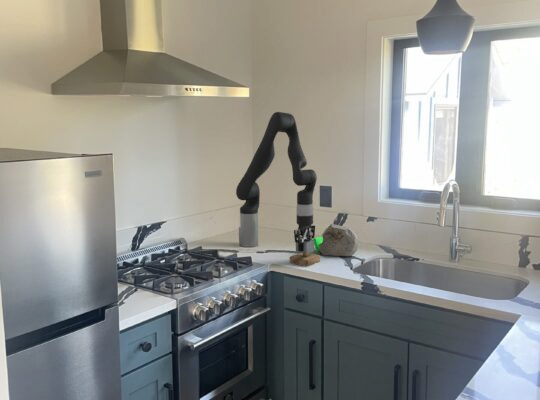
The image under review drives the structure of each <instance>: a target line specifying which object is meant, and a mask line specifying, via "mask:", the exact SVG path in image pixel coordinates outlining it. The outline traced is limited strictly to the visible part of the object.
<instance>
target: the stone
mask: <svg viewBox="0 0 540 400" xmlns="http://www.w3.org/2000/svg"><path fill="white" fill-rule="evenodd" d="M321 237H323V242H322V243H321V244H319V249H320V251H321V252H320V253H321V254H322V255H323V256H333V257H351V256H353V255H355V253H356V252H358V248H359V238H358V236H357V234H356V233H355V231H354V230H353V229H351V228H350V227H347V226H342V225H340V224H334V223H332V224H330V226H328V227H326V229H325V230H324V231H323V233H322V234H321Z"/></svg>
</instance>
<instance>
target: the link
mask: <svg viewBox="0 0 540 400" xmlns="http://www.w3.org/2000/svg"><path fill="white" fill-rule="evenodd" d="M314 251H315V245H314V240H313V239H312V240H310V239H306V238H305V239H304V241H303V251H302V252H301V251H298V243H297V242H295V252H298V253H311V252H314Z"/></svg>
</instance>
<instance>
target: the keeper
mask: <svg viewBox="0 0 540 400" xmlns="http://www.w3.org/2000/svg"><path fill="white" fill-rule="evenodd" d="M320 262H321V255H319V254H315V253H311V252H309V253H301V252H298V253H296V254H293V255H291V256H289V264H293V265H298V266H302V267H307V266H308V267H311V266H313V265H315V263H316V264H317V263H320ZM310 265H311V266H310Z"/></svg>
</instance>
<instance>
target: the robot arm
mask: <svg viewBox="0 0 540 400" xmlns="http://www.w3.org/2000/svg"><path fill="white" fill-rule="evenodd" d="M278 133H285V134H286V135H287V138H288V146H287V157H288V159H289V162H290V165H291V169H292V180H293V182H294V184H295V185H296V186H300V187H303V186H304V189H302V190H299V191H298V192H297V193H296V224H297V225H298V227H297V229H294V230H293V233H294V234H293V235H294V243H296V242H297V243H298V251H301V252H302V251H303V241H304V239H310V240H313V239H314V238H316V237H315V234H316V225H313V224H314V206H313V205H314V204H313V201H314V200H313V196H314V191H315V188H316V184H317V180H318V179H317V178H318V177H317V173H316V171H315V170H313V169H304V168H305V167H306V166H307V165H308V162H307V158H306V156H305V153H304V151H303V148H302V145H301V142H300V137H299V131H298V127H297V122H296V119H295V117H294V116H293V114H291V113H289V112H283V111H282V112H281V111H275V112H274V113H273V114H272V115H271V116H270V118H269V121H268V123H267V126H266V129H265V132H264V135H263V137H262V138H261V139H262V140H261V141H260V143H259V146H258V147H257V149H256V151H255V153H254V155H253V157H252V159H251V161H250V164H249V165H248V167H247V169H246V171H245V173H244V174H243V177H242V178H241V179H240V181H239V182H238V184H237V187H236V188H235V189H236V191H235V195H236V198H238V200H240V201H244V204H242V205H241V206H240V208H239V227H238V244H239V246H240V247H244V248H254V247H259V213H258V212H259V211H258V210H259V208H260V195H261V194H260V186H259V184H258V183H257V180H258V179H259V178H260V177H261V176H262V175H263V174H265V173H266V172H267V170H268V169H269V168H270V166H271V164H272V163H273V162H274V161H273V160H274V159H275V156H276V155H275V153H276V151H275V144H274V143H275V142H274V141H275V140H276V136H277V134H278ZM301 252H300V253H301Z"/></svg>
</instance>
